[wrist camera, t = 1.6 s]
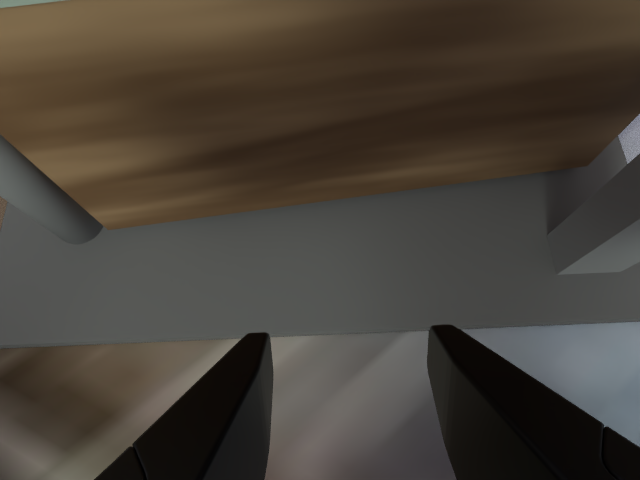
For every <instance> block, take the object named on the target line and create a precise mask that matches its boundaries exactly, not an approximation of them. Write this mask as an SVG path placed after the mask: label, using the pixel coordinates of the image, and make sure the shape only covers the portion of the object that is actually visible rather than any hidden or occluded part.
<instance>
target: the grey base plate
mask: <svg viewBox="0 0 640 480" xmlns="http://www.w3.org/2000/svg"><path fill="white" fill-rule="evenodd" d="M0 196H1V197H2V198H4V199H5V200H6V201H8V202H7V206H6V210H5V214H4V218H3V222H2V227H1V231H0V348H23V347H47V346H71V345H94V344H118V343H142V342H165V341H189V340H213V339H236V338H243V337H244V336H245V335H246V334H248V333H256V332H267V333H268V334H269V336H270V337H284V336H307V335H331V334H355V333H379V332H402V331H426V330H429V329H430V327H431V326H432V325H443V324H451V325H453V326H455V327H457V328H458V329H473V328H497V327H521V326H544V325H568V324H592V323H615V322H639V321H640V154H639V155H638V156H637V157H635V158H634V159H633V160H632V161H631V162H630V163H629V164H627V161H626V158H625V155H624V152H623V150H622V147H621V144H620V141H619V138H618V136H617V137H616V138H615V139H614V140H613V141H612V142H611V143H610V144H609V145H608V146H607V147H606V148H605V149H604V150H603V151H602V152H601V153H600V154H599V155H598V156H597V157H596V158H595V159H594V160H593V161H592V162H591V163H590V164H589V165H588V166H585V167H577V168H570V169H562V170H555V171H547V172H540V173H532V174H525V175H517V176H510V177H502V178H495V179H487V180H480V181H472V182H465V183H457V184H450V185H442V186H435V187H427V188H420V189H412V190H405V191H398V192H390V193H383V194H375V195H368V196H360V197H353V198H345V199H338V200H330V201H323V202H315V203H308V204H300V205H293V206H285V207H278V208H270V209H263V210H255V211H248V212H240V213H233V214H225V215H218V216H210V217H203V218H195V219H188V220H180V221H173V222H165V223H158V224H151V225H143V226H136V227H128V228H121V229H113V230H107V229H106V228H105V227H104V226H103V225H102V224H101V223H99V222H98V221H97V220H96V219H95V218H94V217H93V216H92V215H90V214H89V213H88V212H87V211H86V210H85V209H84V208H83V207H81V206H80V205H79V204H78V203H77V202H76V201H75V200H74V199H73V198H71V197H70V196H69V195H68V194H67V193H66V192H65V191H64V190H62V189H61V188H60V187H59V186H58V185H57V184H56V183H55V182H53V181H52V180H51V179H50V178H49V177H48V176H47V175H46V174H44V173H43V172H42V171H41V170H40V169H39V168H38V167H37V166H35V165H34V164H33V163H32V162H31V161H30V160H29V159H28V158H26V157H25V156H24V155H23V154H22V153H21V152H20V151H19V150H17V149H16V148H15V147H14V146H13V145H12V144H11V143H10V142H8V141H7V140H6V139H5V138H4V137H3V136H2V135H1V134H0Z"/></svg>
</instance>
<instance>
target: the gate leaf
mask: <svg viewBox="0 0 640 480" xmlns="http://www.w3.org/2000/svg"><path fill="white" fill-rule="evenodd" d="M639 114H640V0H0V134H1V135H2V136H3V137H4V138H5V139H6V140H7V141H8V142H10V143H11V144H12V145H13V146H14V147H15V148H16V149H17V150H19V151H20V152H21V153H22V154H23V155H24V156H25V157H26V158H28V159H29V160H30V161H31V162H32V163H33V164H34V165H35V166H37V167H38V168H39V169H40V170H41V171H42V172H43V173H44V174H46V175H47V176H48V177H49V178H50V179H51V180H52V181H53V182H55V183H56V184H57V185H58V186H59V187H60V188H61V189H62V190H64V191H65V192H66V193H67V194H68V195H69V196H70V197H71V198H73V199H74V200H75V201H76V202H77V203H78V204H79V205H80V206H81V207H83V208H84V209H85V210H86V211H87V212H88V213H89V214H90V215H92V216H93V217H94V218H95V219H96V220H97V221H98V222H99V223H101V224H102V225H103V226H104V227H105V228H106V229H107V230H113V229H121V228H128V227H136V226H143V225H151V224H158V223H165V222H173V221H180V220H188V219H195V218H203V217H210V216H218V215H225V214H233V213H240V212H248V211H255V210H263V209H270V208H278V207H285V206H293V205H300V204H308V203H315V202H323V201H330V200H338V199H345V198H353V197H360V196H368V195H375V194H383V193H390V192H398V191H405V190H412V189H420V188H427V187H435V186H442V185H450V184H457V183H465V182H472V181H480V180H487V179H495V178H502V177H510V176H517V175H525V174H532V173H540V172H547V171H555V170H562V169H570V168H577V167H585V166H588V165H589V164H590V163H591V162H592V161H593V160H594V159H595V158H596V157H597V156H598V155H599V154H600V153H601V152H602V151H603V150H604V149H605V148H606V147H607V146H608V145H609V144H610V143H611V142H612V141H613V140H614V139H615V138H616V137H617V136H618V135H619V134H620V133H621V132H622V131H623V130H624V129H625V128H626V127H627V126H628V125H629V124H630V123H631V122H632V121H633V120H634V119H635V118H636V117H637V116H638V115H639Z"/></svg>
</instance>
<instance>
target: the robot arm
mask: <svg viewBox="0 0 640 480" xmlns="http://www.w3.org/2000/svg"><path fill="white" fill-rule="evenodd" d="M427 367H428V374H429V378H430V383H431V387H432V392H433V396H434V400H435V405H436V409H437V414H438V418H439V422H440V427H441V431H442V435H443V439H444V443H445V447H446V450H447V453H448V456H449V459H450V462H451V465H452V467H453V470H454V473H455V476H456V479H457V480H640V447H639V446H637V445H635V444H634V443H632V442H631V441H629V440H628V439H626V438H625V437H623V436H622V435H620V434H618V433H617V432H615V431H614V430H612V429H611V428H609V427H604V425H603V423H601V422H600V421H598V420H597V419H595V418H594V417H592V416H591V415H589V414H588V413H586V412H585V411H583V410H582V409H580V408H579V407H577V406H576V405H574V404H573V403H571V402H569V401H568V400H566V399H565V398H563V397H562V396H560V395H559V394H557V393H556V392H554V391H553V390H551V389H550V388H548V387H547V386H545V385H544V384H542V383H541V382H539V381H537V380H536V379H534V378H533V377H531V376H530V375H528V374H527V373H525V372H524V371H522V370H521V369H519V368H518V367H516V366H515V365H513V364H512V363H510V362H509V361H507V360H505V359H504V358H502V357H501V356H499V355H498V354H496V353H495V352H493V351H492V350H490V349H489V348H487V347H486V346H484V345H483V344H481V343H480V342H478V341H477V340H475V339H473V338H472V337H470V336H469V335H467V334H466V333H464V332H463V331H461V330H460V329H458V328H457V327H455V326H453V325H451V324H443V325H432V326H431V327H430V329H429V338H428V355H427ZM272 393H273V362H272V352H271V342H270V336H269V334H268V333H267V332H256V333H248V334H246V335H245V336H244V337H243V338H242V339H241V340H240V341H239V342H238V343H237V344H236V345H235V346H234V347H233V348H232V349H230V350H229V351H228V352H227V353H226V354H225V355H224V356H223V357H222V358H221V359H220V360H219V361H218V362H217V363H216V364H215V365H214V366H213V367H212V368H211V369H210V370H209V371H208V372H207V373H206V374H205V375H203V376H202V377H201V378H200V379H199V380H198V381H197V382H196V383H195V384H194V385H193V386H192V387H191V388H190V389H189V390H188V391H187V392H186V393H185V394H184V395H183V396H182V397H181V398H180V399H179V400H177V401H176V402H175V403H174V404H173V405H172V406H171V407H170V408H169V409H168V410H167V411H166V412H165V413H164V414H163V415H162V416H161V417H160V418H159V419H158V420H157V421H156V422H155V423H154V424H153V425H151V426H150V427H149V428H148V429H147V430H146V431H145V432H144V433H143V434H142V435H141V436H140V437H139V438H138V439H137V440H136V441H135V442H134V443H133V447H128V448H127V449H126V450H125V451H124V452H123V453H122V454H121V455H120V456H119V457H118V458H117V459H116V460H115V461H114V462H113V463H112V464H111V465H110V466H108V467H107V468H106V469H105V470H104V471H103V472H102V473H101V474H100V475H99V476H98V477H96V478H95V479H94V480H264V479H265V473H266V468H267V461H268V454H269V445H270V431H271V412H272Z"/></svg>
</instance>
